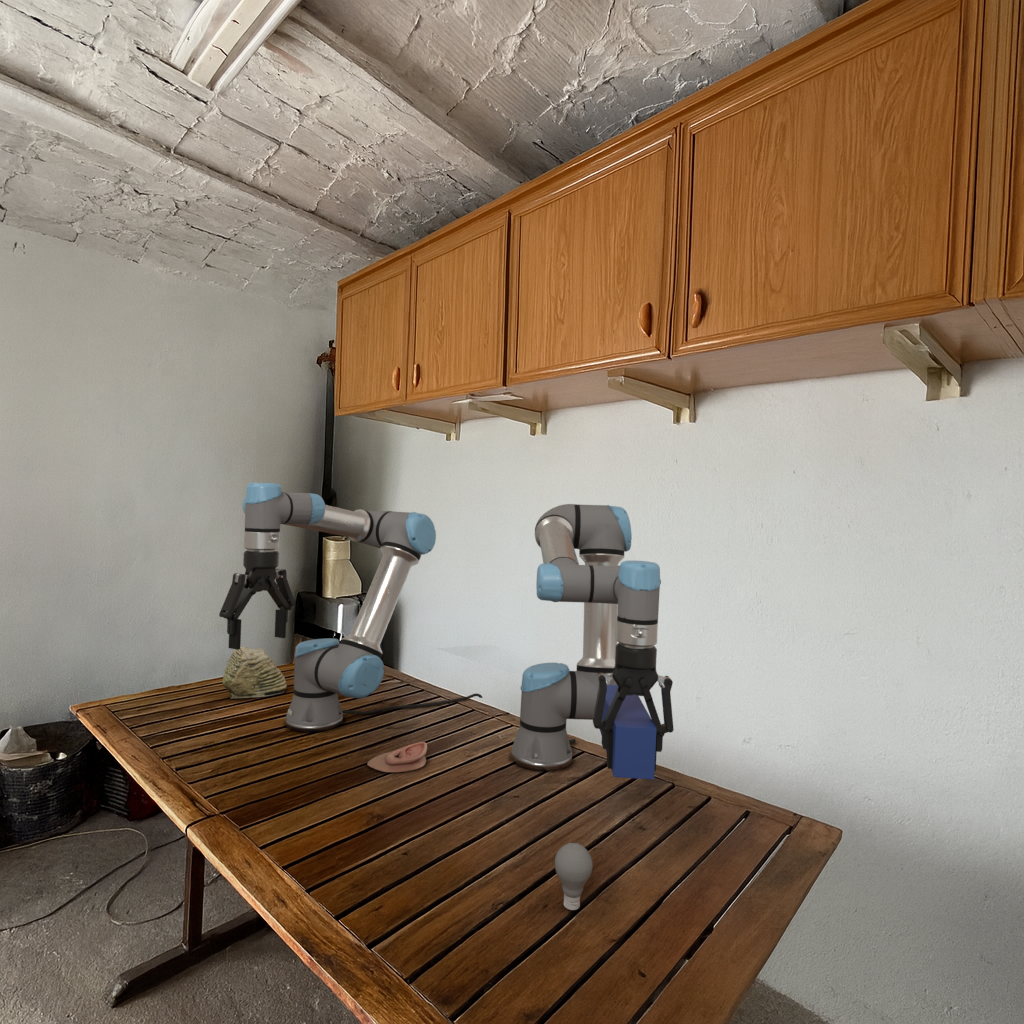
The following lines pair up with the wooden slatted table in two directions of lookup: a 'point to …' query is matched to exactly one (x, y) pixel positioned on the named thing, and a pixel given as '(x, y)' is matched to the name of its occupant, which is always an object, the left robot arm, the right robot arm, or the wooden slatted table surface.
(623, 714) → the box
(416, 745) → the anatomical model
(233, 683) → the fossil
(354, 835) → the wooden slatted table surface
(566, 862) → the light bulb
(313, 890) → the wooden slatted table surface
